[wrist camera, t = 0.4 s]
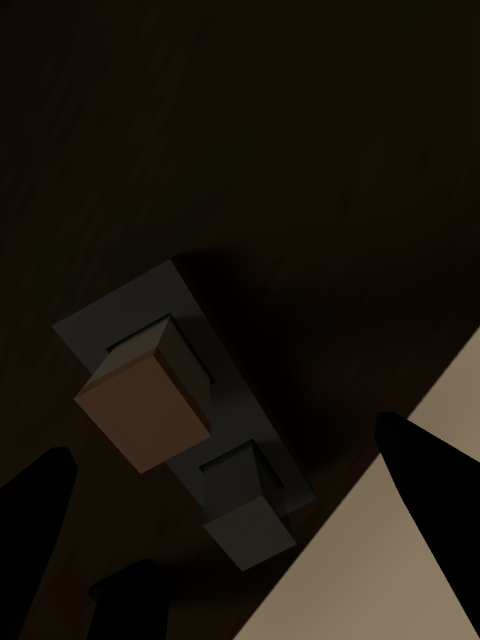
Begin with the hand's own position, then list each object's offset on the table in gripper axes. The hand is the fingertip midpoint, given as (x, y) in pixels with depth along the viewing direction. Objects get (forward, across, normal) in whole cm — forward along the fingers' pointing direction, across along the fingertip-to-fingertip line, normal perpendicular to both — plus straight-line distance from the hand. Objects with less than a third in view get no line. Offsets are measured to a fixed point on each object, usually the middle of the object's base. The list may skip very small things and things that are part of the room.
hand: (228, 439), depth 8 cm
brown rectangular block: (+13, +4, +4) cm, 15 cm away
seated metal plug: (+12, 0, +14) cm, 19 cm away
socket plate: (+13, +2, +9) cm, 16 cm away
